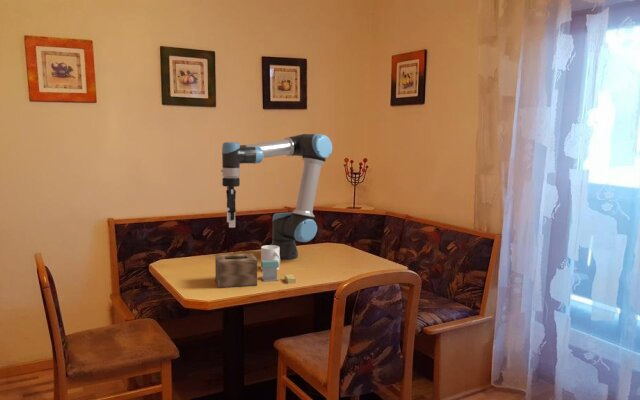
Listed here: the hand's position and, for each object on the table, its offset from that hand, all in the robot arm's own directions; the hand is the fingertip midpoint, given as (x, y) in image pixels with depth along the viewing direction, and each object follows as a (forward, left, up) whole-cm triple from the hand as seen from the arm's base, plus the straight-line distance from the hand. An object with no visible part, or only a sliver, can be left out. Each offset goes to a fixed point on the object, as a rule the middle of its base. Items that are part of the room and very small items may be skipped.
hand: (231, 224), depth 231 cm
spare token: (-23, +17, -23) cm, 37 cm away
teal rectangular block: (-15, +12, -17) cm, 26 cm away
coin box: (0, +15, -22) cm, 27 cm away
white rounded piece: (-19, -3, -23) cm, 30 cm away
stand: (-15, +12, -22) cm, 30 cm away
